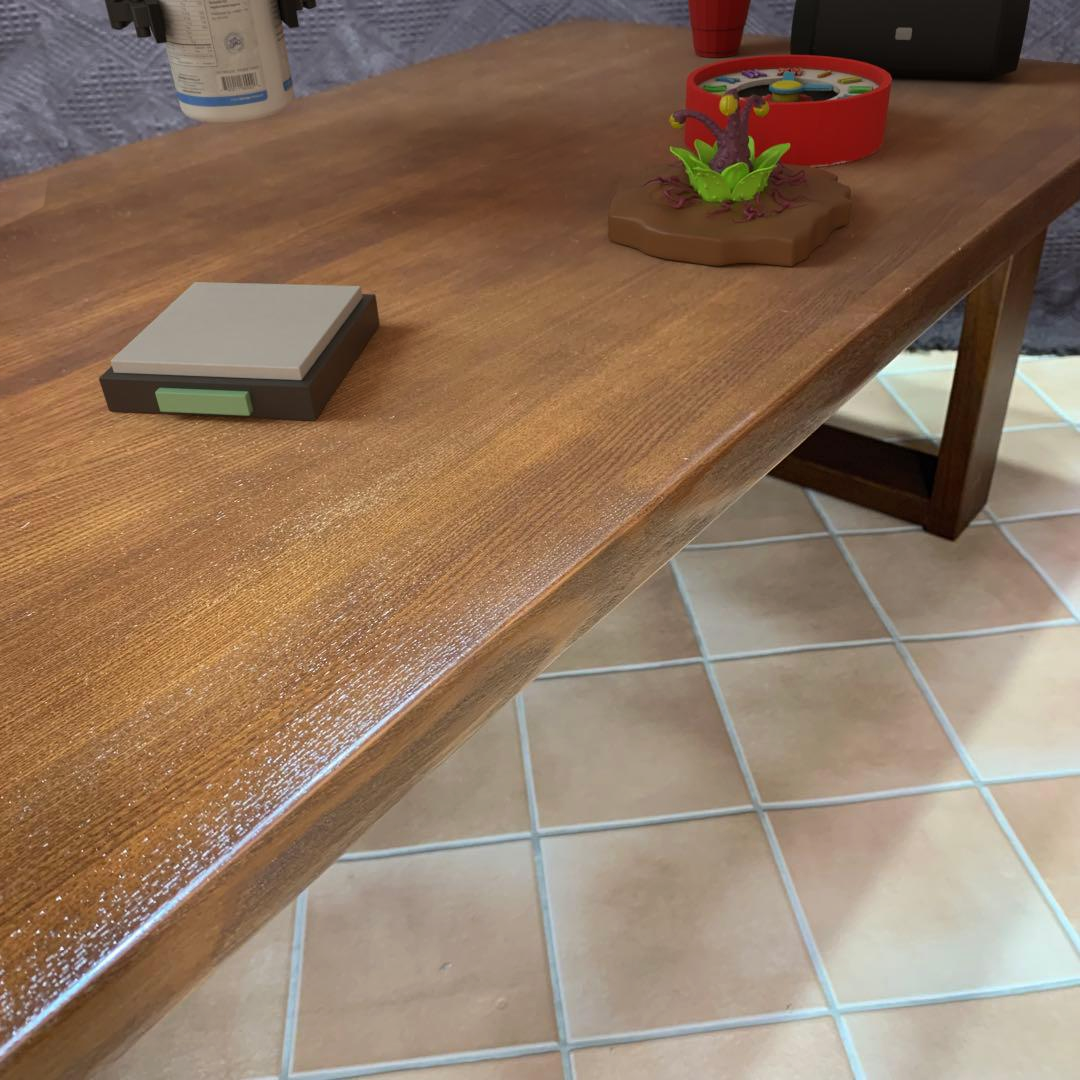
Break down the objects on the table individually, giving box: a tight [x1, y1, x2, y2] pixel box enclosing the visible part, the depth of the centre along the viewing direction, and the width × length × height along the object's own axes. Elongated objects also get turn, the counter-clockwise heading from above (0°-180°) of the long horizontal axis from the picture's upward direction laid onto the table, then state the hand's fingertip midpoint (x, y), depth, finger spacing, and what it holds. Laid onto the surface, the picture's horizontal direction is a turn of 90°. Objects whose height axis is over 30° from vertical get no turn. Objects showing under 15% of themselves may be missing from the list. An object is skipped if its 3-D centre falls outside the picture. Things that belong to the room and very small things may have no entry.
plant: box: [607, 88, 852, 268], centre depth 88 cm, size 20×20×11 cm
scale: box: [98, 281, 381, 421], centre depth 72 cm, size 14×15×3 cm
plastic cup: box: [687, 0, 752, 58], centre depth 139 cm, size 11×11×12 cm
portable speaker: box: [789, 0, 1031, 81], centre depth 126 cm, size 26×10×10 cm, turn 70°
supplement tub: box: [157, 0, 295, 124], centre depth 87 cm, size 10×10×15 cm
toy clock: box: [684, 54, 893, 168], centre depth 109 cm, size 20×6×20 cm
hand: (225, 16), depth 83 cm, fingers closed on supplement tub, 9 cm apart
